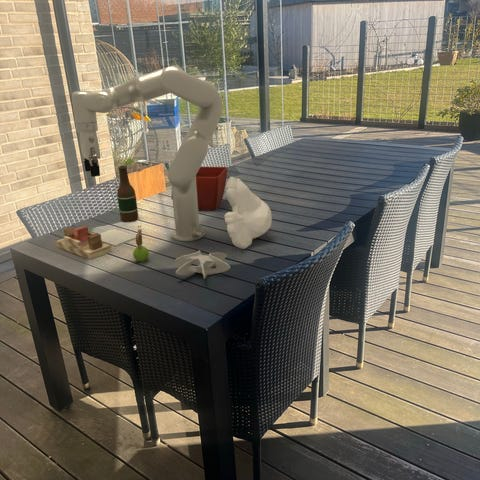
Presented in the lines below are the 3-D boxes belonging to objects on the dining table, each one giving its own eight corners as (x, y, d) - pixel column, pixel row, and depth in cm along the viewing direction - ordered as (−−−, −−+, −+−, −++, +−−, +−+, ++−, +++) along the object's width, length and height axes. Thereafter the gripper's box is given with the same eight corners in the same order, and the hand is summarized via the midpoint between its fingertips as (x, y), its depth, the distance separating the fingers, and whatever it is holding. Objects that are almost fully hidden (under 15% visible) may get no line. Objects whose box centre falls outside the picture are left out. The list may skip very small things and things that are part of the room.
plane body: (111, 251, 178) (108, 232, 175) (90, 259, 172) (87, 240, 169) (78, 239, 191) (74, 222, 189) (57, 246, 185) (54, 228, 182)
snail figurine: (151, 256, 173) (147, 224, 168) (148, 263, 167) (144, 231, 162) (135, 256, 172) (131, 225, 168) (132, 264, 166) (128, 232, 162)
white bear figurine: (248, 209, 196) (216, 170, 179) (281, 207, 186) (250, 166, 170) (228, 262, 185) (192, 226, 168) (262, 263, 175) (227, 224, 159)
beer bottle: (121, 223, 208) (113, 169, 199) (120, 218, 215) (112, 165, 206) (139, 221, 209) (132, 167, 201) (138, 215, 216) (131, 163, 208)
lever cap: (94, 243, 180) (92, 227, 178) (83, 247, 177) (80, 231, 174) (82, 239, 185) (79, 223, 183) (71, 243, 181) (68, 227, 179)
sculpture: (219, 288, 147) (218, 269, 144) (163, 280, 154) (160, 262, 152) (240, 265, 162) (239, 248, 159) (188, 258, 169) (186, 242, 167)
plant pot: (220, 213, 214) (218, 176, 208) (179, 212, 218) (176, 176, 212) (229, 200, 232) (227, 166, 225) (192, 200, 236) (189, 166, 229)
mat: (137, 237, 191) (137, 236, 190) (115, 246, 183) (115, 245, 183) (113, 230, 200) (113, 228, 200) (91, 238, 192) (90, 237, 192)
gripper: (103, 129, 167) (108, 177, 173) (91, 123, 181) (97, 167, 187) (81, 130, 164) (87, 179, 170) (71, 124, 178) (77, 170, 184)
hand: (92, 173), depth 179 cm, fingers open, 9 cm apart
